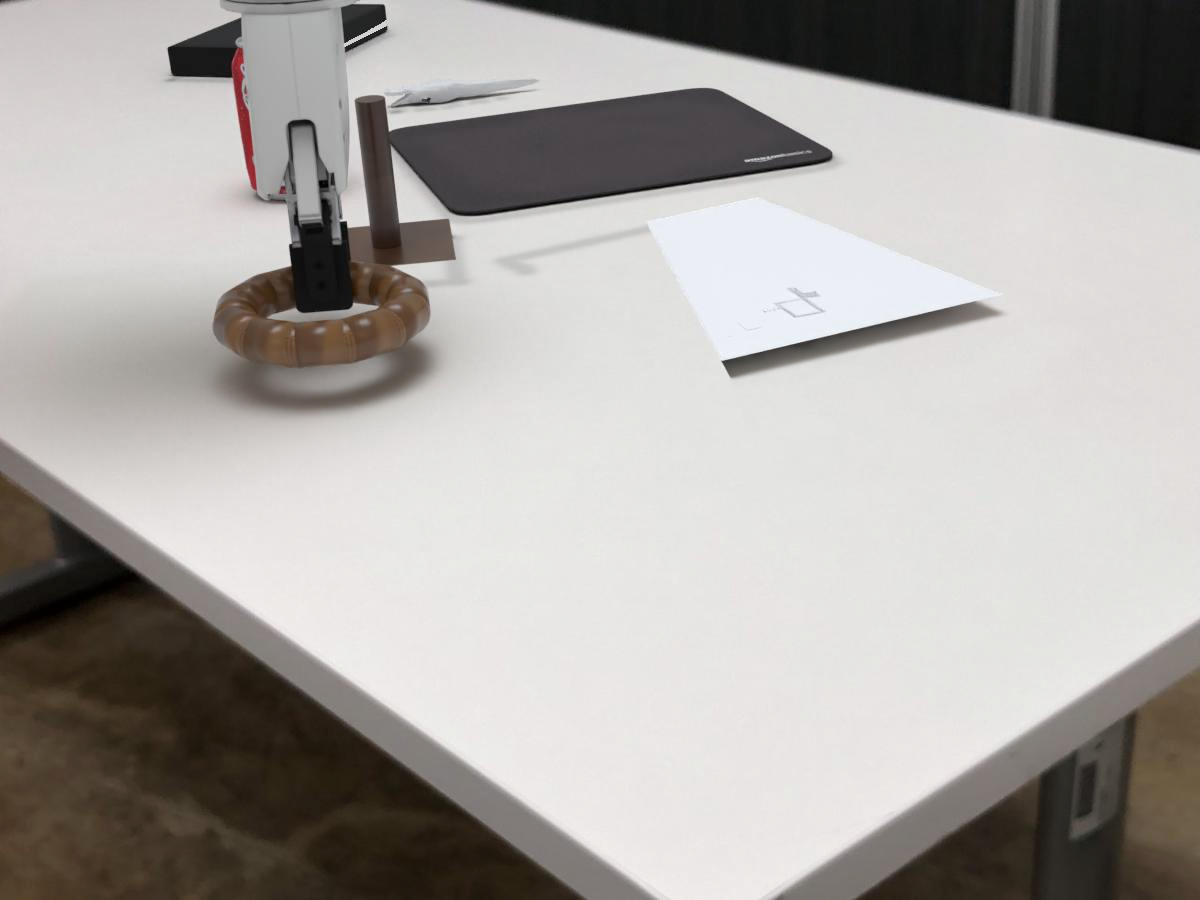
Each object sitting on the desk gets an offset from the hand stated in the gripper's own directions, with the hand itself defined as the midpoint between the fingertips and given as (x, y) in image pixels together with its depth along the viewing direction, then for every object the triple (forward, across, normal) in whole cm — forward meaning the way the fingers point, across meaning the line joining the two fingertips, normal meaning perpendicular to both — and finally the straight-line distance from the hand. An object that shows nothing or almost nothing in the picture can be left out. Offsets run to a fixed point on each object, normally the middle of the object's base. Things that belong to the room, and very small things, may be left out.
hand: (325, 296), depth 91 cm
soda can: (+4, -35, -3) cm, 36 cm away
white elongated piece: (+4, -61, +12) cm, 63 cm away
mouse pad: (+3, -40, +22) cm, 46 cm away
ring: (-1, +5, 0) cm, 5 cm away
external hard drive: (+4, -89, -6) cm, 90 cm away
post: (+4, -16, +4) cm, 17 cm away
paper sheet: (+3, -6, +26) cm, 27 cm away
